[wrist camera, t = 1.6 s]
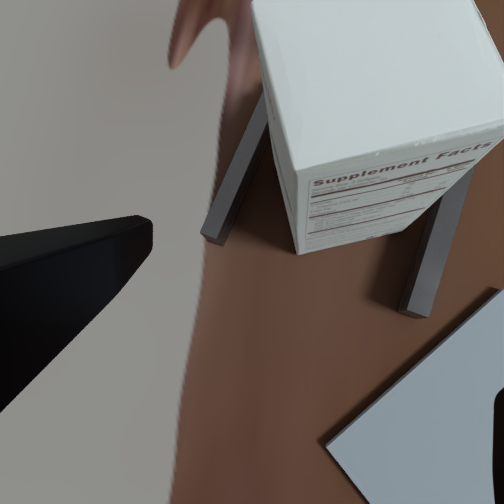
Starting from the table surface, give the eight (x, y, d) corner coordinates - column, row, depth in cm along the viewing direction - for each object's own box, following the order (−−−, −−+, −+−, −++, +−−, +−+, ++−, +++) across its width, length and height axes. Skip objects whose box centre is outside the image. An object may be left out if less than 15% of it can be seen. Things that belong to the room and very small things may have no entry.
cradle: (416, 318, 20) (569, 302, 9) (207, 240, 23) (119, 152, 12) (492, 77, 23) (680, -171, 12) (297, 35, 26) (296, -194, 15)
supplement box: (272, 162, 24) (245, -9, 12) (374, 137, 24) (455, -70, 11) (294, 259, 22) (287, 173, 10) (406, 235, 22) (542, 112, 10)
